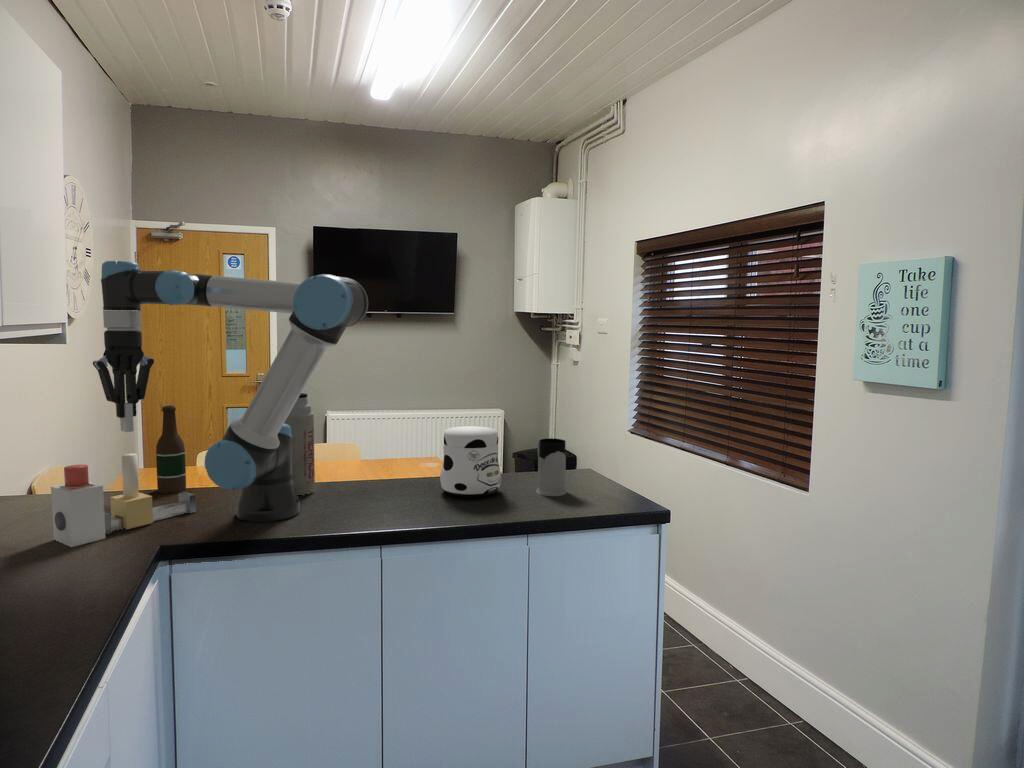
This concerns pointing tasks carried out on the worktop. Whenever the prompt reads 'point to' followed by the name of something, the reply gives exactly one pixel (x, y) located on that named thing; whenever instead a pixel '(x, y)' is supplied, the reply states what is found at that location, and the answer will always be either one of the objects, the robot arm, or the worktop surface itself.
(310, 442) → the thermos bottle
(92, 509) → the white button housing
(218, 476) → the robot arm
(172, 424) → the beer bottle
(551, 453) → the glass holder
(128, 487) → the carriage
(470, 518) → the worktop surface
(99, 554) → the worktop surface
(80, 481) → the gauge button
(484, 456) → the milk container
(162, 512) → the rail
